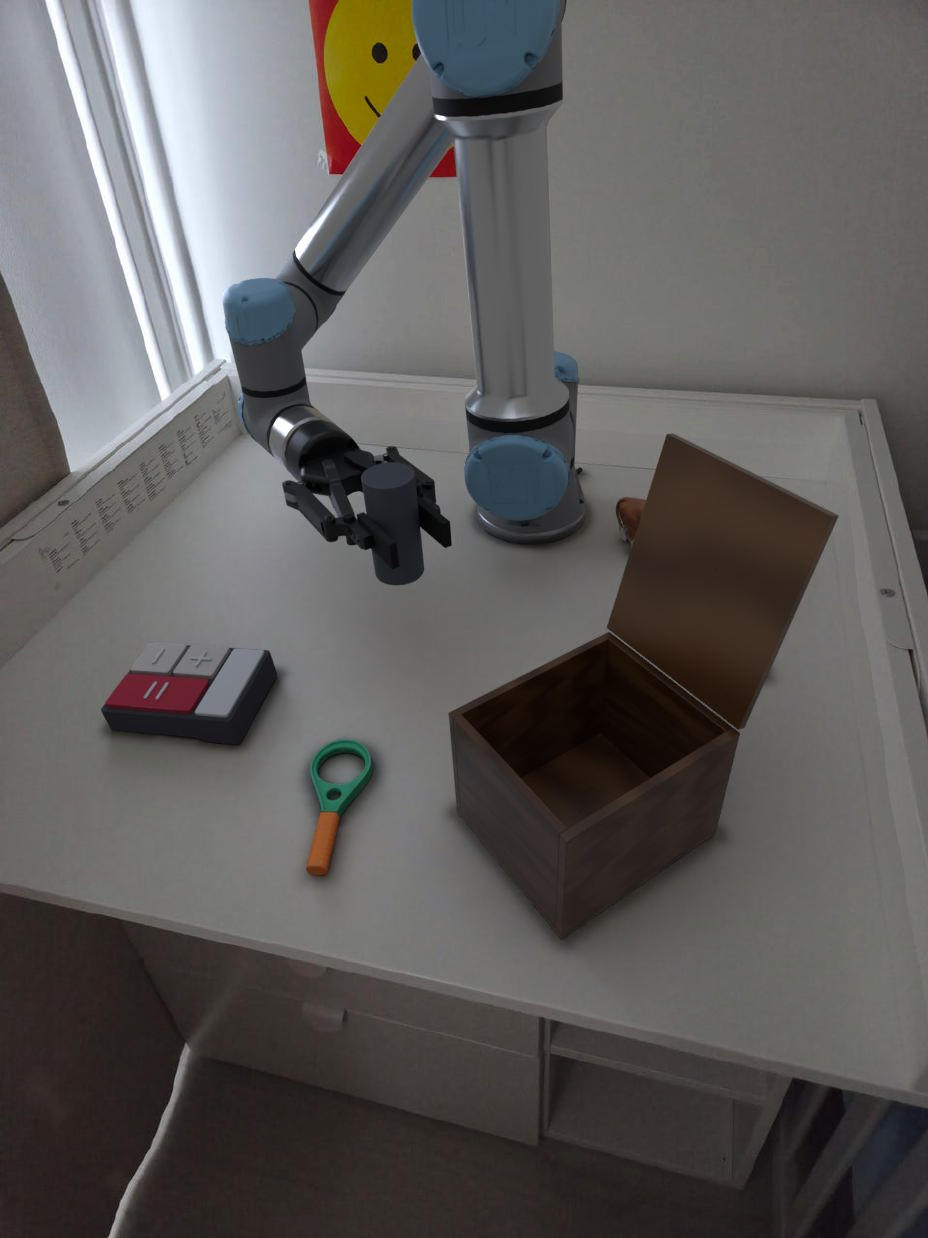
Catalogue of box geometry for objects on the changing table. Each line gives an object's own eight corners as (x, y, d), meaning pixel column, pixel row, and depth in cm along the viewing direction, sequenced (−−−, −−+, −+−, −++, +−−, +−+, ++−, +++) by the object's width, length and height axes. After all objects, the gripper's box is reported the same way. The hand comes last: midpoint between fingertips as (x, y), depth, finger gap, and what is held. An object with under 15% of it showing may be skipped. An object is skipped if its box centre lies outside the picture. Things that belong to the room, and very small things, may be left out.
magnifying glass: (319, 746, 83) (316, 735, 82) (377, 747, 83) (375, 735, 82) (284, 876, 71) (280, 865, 70) (352, 878, 71) (349, 867, 70)
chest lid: (832, 516, 54) (839, 515, 55) (666, 433, 65) (673, 433, 65) (738, 730, 64) (744, 728, 64) (606, 628, 74) (612, 626, 75)
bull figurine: (706, 576, 102) (716, 521, 97) (608, 547, 108) (612, 494, 103) (718, 558, 105) (728, 504, 100) (621, 531, 111) (626, 479, 106)
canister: (408, 551, 85) (398, 456, 78) (433, 573, 82) (424, 477, 75) (366, 568, 83) (351, 472, 76) (390, 591, 80) (377, 494, 73)
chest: (561, 940, 66) (566, 841, 57) (456, 811, 76) (448, 712, 68) (715, 834, 73) (740, 733, 64) (600, 730, 83) (609, 631, 75)
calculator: (147, 637, 92) (269, 644, 89) (160, 665, 95) (278, 673, 92) (95, 705, 84) (227, 716, 81) (111, 734, 87) (239, 745, 83)
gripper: (390, 457, 96) (502, 545, 81) (246, 506, 89) (339, 613, 74) (382, 398, 92) (500, 479, 76) (231, 444, 85) (326, 544, 69)
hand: (421, 545), depth 75 cm, fingers closed on canister, 5 cm apart
